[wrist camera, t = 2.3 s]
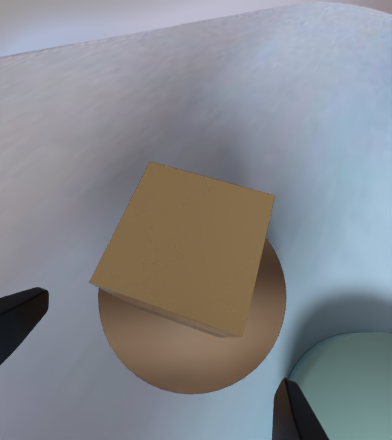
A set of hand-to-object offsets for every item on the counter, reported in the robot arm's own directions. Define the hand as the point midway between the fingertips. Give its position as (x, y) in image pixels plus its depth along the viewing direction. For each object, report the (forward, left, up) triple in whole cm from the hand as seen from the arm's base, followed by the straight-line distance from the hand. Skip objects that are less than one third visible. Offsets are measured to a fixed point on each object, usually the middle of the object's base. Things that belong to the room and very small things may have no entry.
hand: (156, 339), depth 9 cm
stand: (+3, -2, -11) cm, 11 cm away
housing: (+3, -2, -8) cm, 9 cm away
